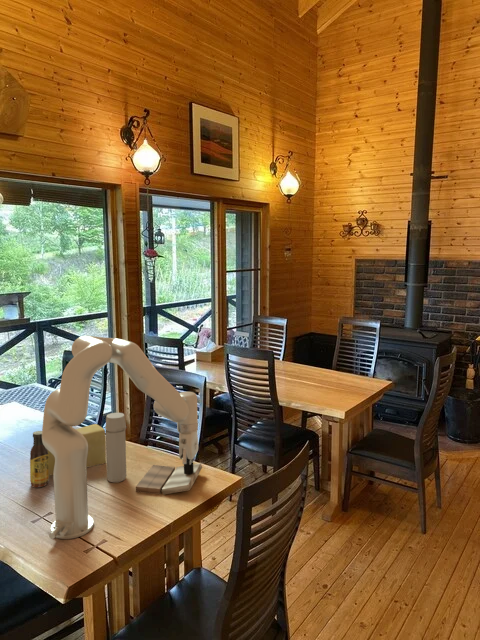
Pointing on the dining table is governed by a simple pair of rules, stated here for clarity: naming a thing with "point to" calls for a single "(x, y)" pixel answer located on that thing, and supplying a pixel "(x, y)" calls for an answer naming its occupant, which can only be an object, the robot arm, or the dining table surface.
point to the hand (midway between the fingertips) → (188, 473)
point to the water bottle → (115, 447)
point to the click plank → (181, 480)
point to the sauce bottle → (38, 462)
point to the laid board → (155, 479)
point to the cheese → (95, 447)
